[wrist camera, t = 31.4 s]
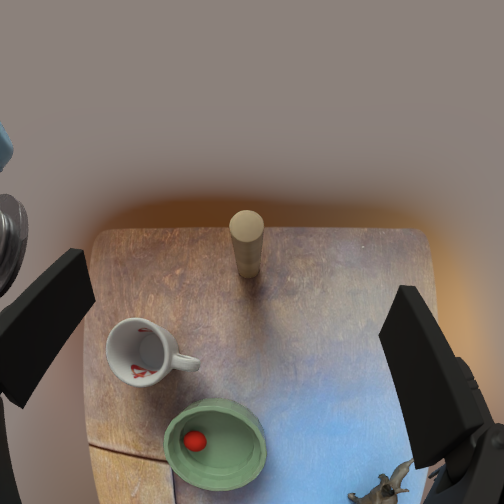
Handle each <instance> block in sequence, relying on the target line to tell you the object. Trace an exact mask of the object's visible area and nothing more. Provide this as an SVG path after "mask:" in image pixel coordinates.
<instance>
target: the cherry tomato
mask: <svg viewBox="0 0 504 504" xmlns="http://www.w3.org/2000/svg"><path fill="white" fill-rule="evenodd" d="M183 442H184V445H185V447H186V448H187V449H189V450H190V451H193V452H198V451H201V450H203V449H204V448H205V447H206V444H207V440H206V437H205V436H204V434H202V433H201V432H199V431H190V432H188V433H187V434H186V435H185V436H184V439H183Z"/></svg>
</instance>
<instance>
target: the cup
mask: <svg viewBox="0 0 504 504" xmlns="http://www.w3.org/2000/svg"><path fill="white" fill-rule="evenodd" d="M106 357H107V361H108V364H109V366H110V368H111V370H112V371H113V373H114V374H115V375H116V376H117V377H118V378H119V379H120V380H121V381H122V382H124V383H126V384H128V385H130V386H133V387H140V388H142V387H149V386H152V385H154V384H156V383H158V382H159V381H160V380H161V379H162V378H164V377H165V376H166V375H167V374H168V373H169V372H170V371H171V370H172V369H177V370H182V371H187V372H196V371H198V370H199V368H200V360H199V359H197V358H193V357H190V356H186V355H182V354H179V349H178V344H177V342H176V340H175V338H174V337H173V336H172V334H171V333H170V332H168V331H167V330H166V329H164V328H162V327H160V326H158V325H156V324H154V323H152V322H150V321H148V320H146V319H142V318H129V319H126V320H123V321H121V322H120V323H118V324H117V325H116V326H115V327H114V328H113V329H112V331H111V332H110V334H109V336H108V339H107V343H106Z"/></svg>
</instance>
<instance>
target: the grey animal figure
mask: <svg viewBox="0 0 504 504" xmlns="http://www.w3.org/2000/svg"><path fill="white" fill-rule="evenodd" d="M413 462H414V459H413V458H412V459H411V460H409V461H407V462H404V463H402V464H400V465H399V466H398V467H397V468H396V469H395V470H394V472H393V474H392V476H391V478H390V480H389V479H388V477H387V476H386V475H385V474H381V475H379V478H381V482H380V485H378V486H376V487H375V488H373V489H372V490H371V491H370V493H369V494H368V495H365V496H364V497H363V498H358V497H356V496H354V495H355V493H349V494H348V498H349V499H351V500H352V501H354V502H355V503H356V504H397V502H398V498H397V494H398V493H401V492H409V490H408V489H400V486H401V482H402V480H403V478H404V477H405V476H406V475H407V473H408V472H409V466H410V465H411V463H413ZM391 487H392V489H393V490H391Z"/></svg>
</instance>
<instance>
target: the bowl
mask: <svg viewBox="0 0 504 504" xmlns="http://www.w3.org/2000/svg"><path fill="white" fill-rule="evenodd" d="M190 431H199V432H201V433H202V434H204V436H205V437H206V440H207V444H206V447H205V448H204V449H203V450H201V451H198V452H193V451H190V450H189V449H187V448H186V447H185V445H184V442H183V439H184V436H185V435H186V434H187V433H188V432H190ZM163 447H164V452H165V456H166V459H167V461H168V463H169V464H170V466H171V468H172V469H173V471H174V472H175V473H176V474H178V475H179V476H180V477H181V478H182V479H183V480H184V481H186V482H188V483H190V484H192V485H194V486H196V487H198V488H202V489H206V490H211V491H229V490H234V489H237V488H240V487H243V486H245V485H247V484H248V483H249V482H251V481H252V480H254V479H255V478H256V477H257V476H258V474H259V473H260V472H261V470H262V469H263V467H264V464H265V460H266V456H267V451H266V443H265V436H264V429H263V427H262V425H261V424H260V422H259V420H258V418H257V417H256V416H255V415H254V414H253V413H252V412H251V411H250V410H249V409H248V408H246V407H244V406H242V405H241V404H239V403H237V402H235V401H232V400H227V399H222V398H209V399H202V400H200V401H197V402H194V403H192V404H190V405H189V406H187V407H186V408H185V409H184V410H183V411H181V412H180V413H179V414H178V415H177V416H176V417H175V418H174V419H173V420H172V421H171V423H170V425H169V426H168V428H167V430H166V431H165V436H164V442H163Z"/></svg>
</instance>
